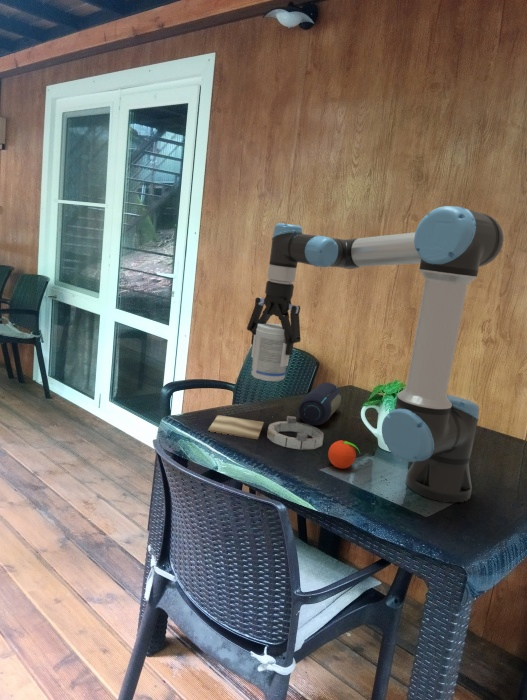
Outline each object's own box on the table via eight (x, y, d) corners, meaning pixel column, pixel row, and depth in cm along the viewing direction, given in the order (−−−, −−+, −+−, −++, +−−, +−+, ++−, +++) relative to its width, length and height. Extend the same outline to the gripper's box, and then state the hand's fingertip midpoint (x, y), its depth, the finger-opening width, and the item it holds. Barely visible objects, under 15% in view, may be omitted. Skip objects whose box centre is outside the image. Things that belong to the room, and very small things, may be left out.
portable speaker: (325, 431, 171) (330, 399, 169) (293, 424, 174) (297, 393, 172) (342, 411, 194) (346, 383, 192) (313, 405, 197) (317, 377, 195)
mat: (257, 439, 157) (257, 437, 157) (207, 431, 158) (208, 429, 158) (263, 424, 171) (263, 422, 170) (217, 416, 172) (217, 415, 172)
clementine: (360, 467, 146) (364, 440, 145) (355, 476, 140) (359, 448, 138) (329, 459, 148) (333, 433, 147) (323, 468, 142) (327, 441, 141)
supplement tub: (291, 381, 160) (298, 329, 157) (264, 383, 154) (272, 329, 151) (269, 371, 167) (276, 322, 164) (243, 373, 161) (250, 322, 158)
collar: (321, 453, 152) (323, 439, 151) (264, 444, 153) (266, 430, 153) (322, 434, 168) (324, 421, 167) (270, 425, 170) (272, 413, 169)
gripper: (322, 288, 152) (309, 369, 156) (257, 275, 165) (247, 351, 169) (306, 288, 146) (293, 372, 150) (240, 275, 159) (230, 353, 163)
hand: (269, 361), depth 160 cm, fingers closed on supplement tub, 9 cm apart
